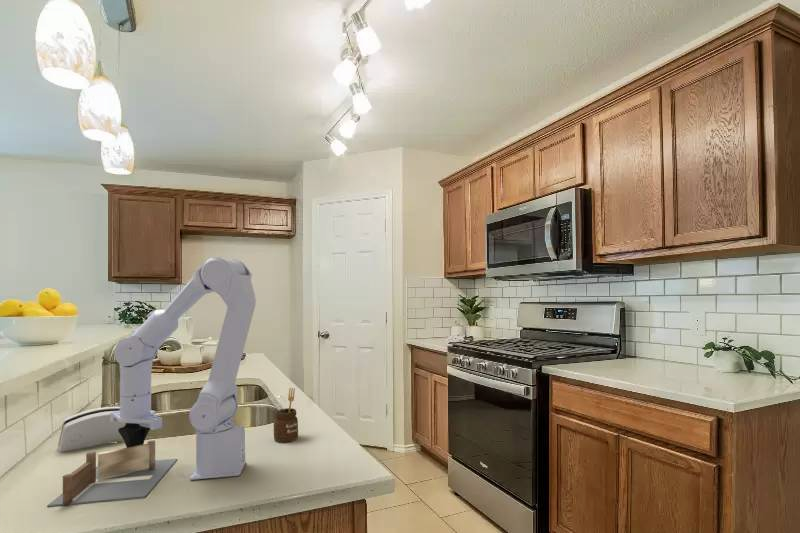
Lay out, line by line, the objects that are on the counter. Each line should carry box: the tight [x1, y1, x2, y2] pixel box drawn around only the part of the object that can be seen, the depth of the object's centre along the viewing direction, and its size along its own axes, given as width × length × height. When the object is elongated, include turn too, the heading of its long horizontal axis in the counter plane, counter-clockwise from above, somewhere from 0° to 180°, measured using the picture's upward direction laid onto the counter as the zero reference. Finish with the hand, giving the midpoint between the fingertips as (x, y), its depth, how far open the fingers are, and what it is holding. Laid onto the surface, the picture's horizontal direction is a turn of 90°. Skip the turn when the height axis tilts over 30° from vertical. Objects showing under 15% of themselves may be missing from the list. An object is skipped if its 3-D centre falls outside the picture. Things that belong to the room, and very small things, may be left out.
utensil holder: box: [273, 387, 299, 444], centre depth 116 cm, size 6×6×12 cm
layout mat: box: [47, 458, 178, 508], centre depth 93 cm, size 16×19×1 cm
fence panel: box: [97, 440, 156, 479], centre depth 95 cm, size 10×1×5 cm, turn 126°
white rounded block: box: [57, 406, 126, 453], centre depth 117 cm, size 17×5×10 cm, turn 130°
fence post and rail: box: [62, 451, 97, 507], centre depth 87 cm, size 2×10×6 cm, turn 9°
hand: (135, 459), depth 98 cm, fingers closed
